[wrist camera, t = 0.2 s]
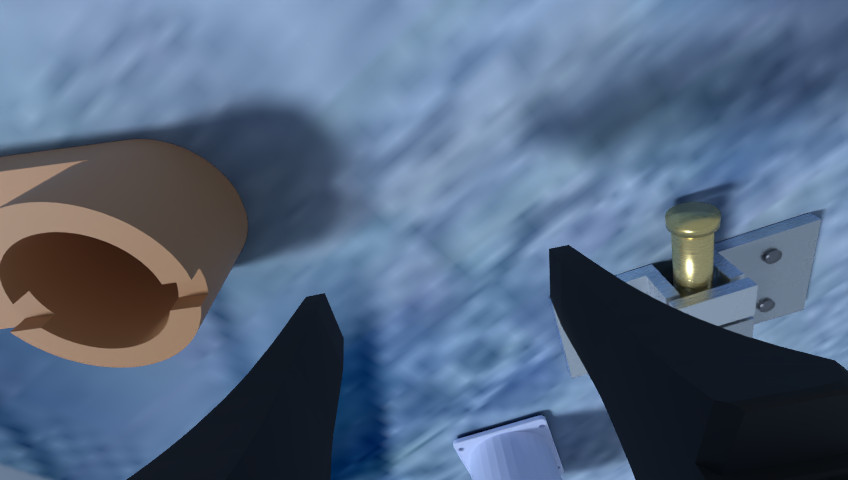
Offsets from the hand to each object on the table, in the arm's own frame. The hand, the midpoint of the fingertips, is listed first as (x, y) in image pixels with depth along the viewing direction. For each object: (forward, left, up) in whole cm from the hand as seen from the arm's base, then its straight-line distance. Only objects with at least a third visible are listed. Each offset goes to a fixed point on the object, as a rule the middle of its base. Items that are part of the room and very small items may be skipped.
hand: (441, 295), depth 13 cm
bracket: (+4, +18, -11) cm, 21 cm away
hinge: (-15, -13, -10) cm, 23 cm away
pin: (-12, -13, -10) cm, 20 cm away
